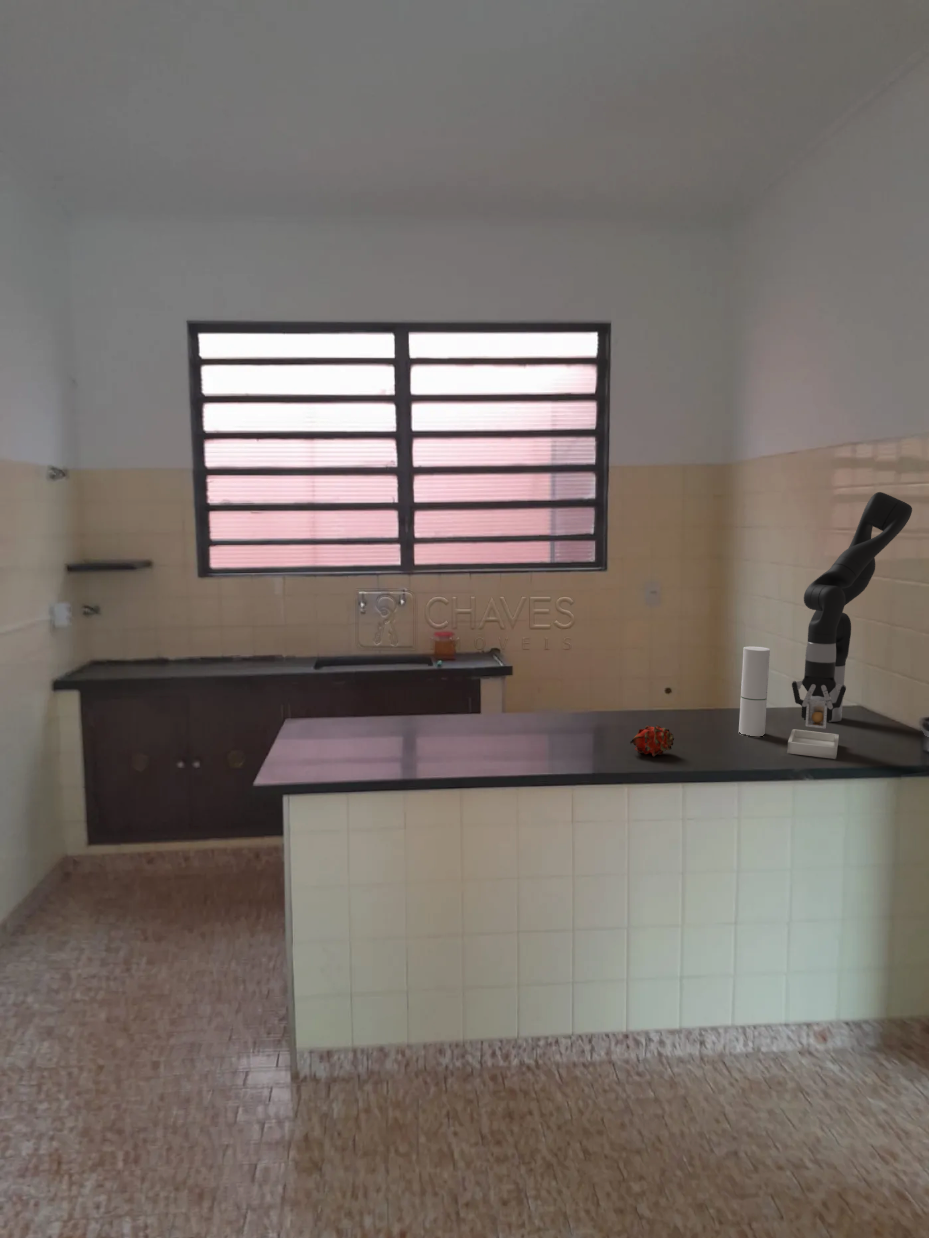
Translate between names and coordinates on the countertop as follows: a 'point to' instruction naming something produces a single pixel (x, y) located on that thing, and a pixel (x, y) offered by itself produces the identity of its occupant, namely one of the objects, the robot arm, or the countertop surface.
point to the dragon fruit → (653, 740)
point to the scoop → (816, 707)
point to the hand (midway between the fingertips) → (816, 720)
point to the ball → (817, 717)
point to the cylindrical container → (754, 690)
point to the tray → (813, 743)
